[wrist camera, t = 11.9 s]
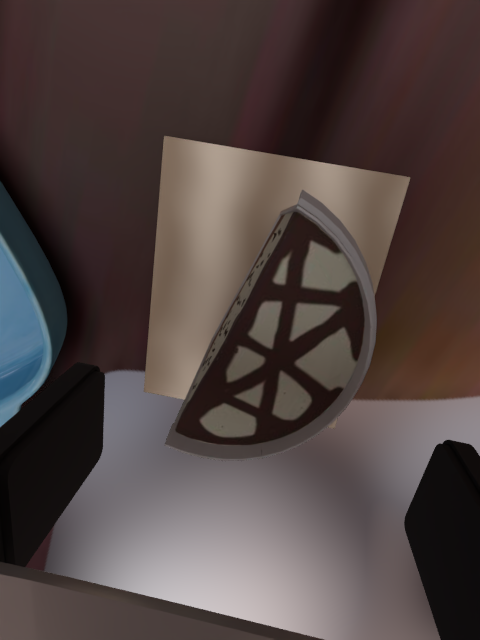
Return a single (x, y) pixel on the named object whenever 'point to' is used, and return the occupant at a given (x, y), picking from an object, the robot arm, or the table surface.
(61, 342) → the casserole dish
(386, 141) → the table surface
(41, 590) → the robot arm
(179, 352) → the block
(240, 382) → the food container
